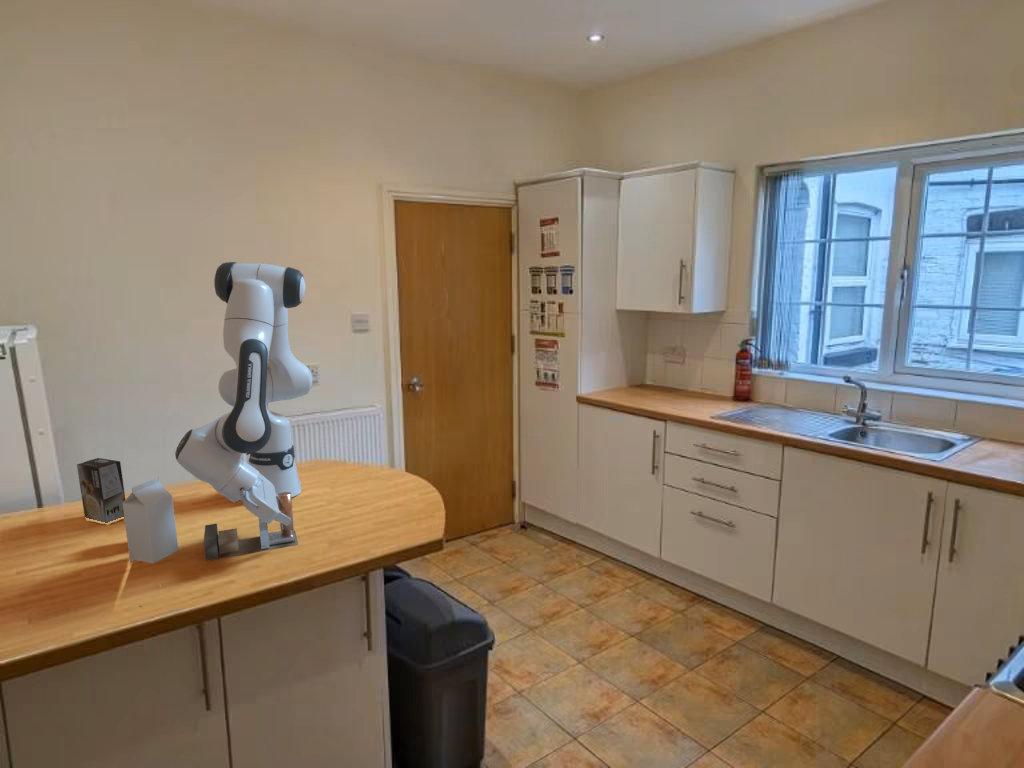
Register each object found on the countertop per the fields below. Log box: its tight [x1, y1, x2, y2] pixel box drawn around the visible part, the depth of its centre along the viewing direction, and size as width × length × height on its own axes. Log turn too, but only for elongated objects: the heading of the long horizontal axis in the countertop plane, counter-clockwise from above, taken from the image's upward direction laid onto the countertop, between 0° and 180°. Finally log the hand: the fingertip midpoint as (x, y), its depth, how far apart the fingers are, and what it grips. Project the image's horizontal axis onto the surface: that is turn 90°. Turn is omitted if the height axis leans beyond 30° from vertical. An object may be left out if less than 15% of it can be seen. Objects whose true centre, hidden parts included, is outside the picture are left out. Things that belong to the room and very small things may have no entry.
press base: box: [203, 523, 299, 562], centre depth 153 cm, size 20×9×6 cm, turn 113°
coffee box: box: [76, 457, 126, 523], centre depth 172 cm, size 9×6×16 cm
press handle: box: [258, 492, 295, 549], centre depth 154 cm, size 8×8×11 cm
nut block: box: [218, 528, 239, 554], centre depth 151 cm, size 4×4×4 cm
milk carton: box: [123, 477, 179, 564], centre depth 147 cm, size 7×7×19 cm
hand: (288, 515), depth 155 cm, fingers open, 8 cm apart
